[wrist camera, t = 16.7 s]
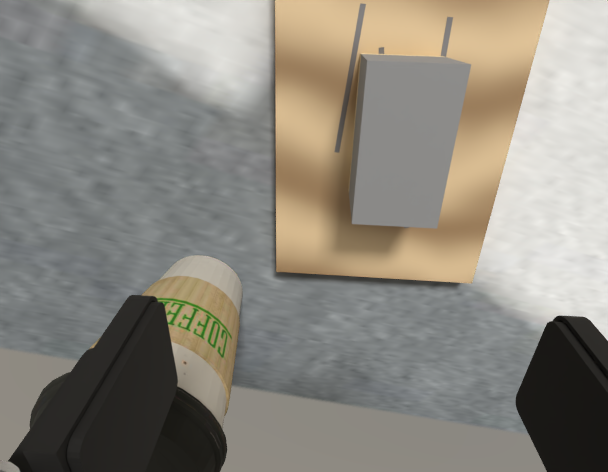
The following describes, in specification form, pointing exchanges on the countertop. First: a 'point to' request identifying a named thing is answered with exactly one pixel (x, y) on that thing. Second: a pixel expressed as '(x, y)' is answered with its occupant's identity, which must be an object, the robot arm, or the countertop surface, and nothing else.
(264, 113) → the countertop surface
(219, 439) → the coffee cup
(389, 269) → the board
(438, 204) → the block
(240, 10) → the countertop surface
